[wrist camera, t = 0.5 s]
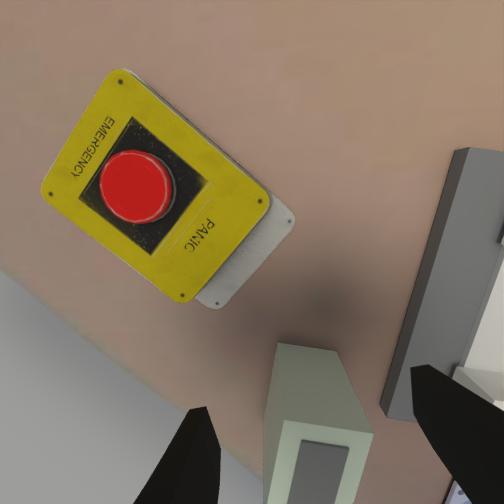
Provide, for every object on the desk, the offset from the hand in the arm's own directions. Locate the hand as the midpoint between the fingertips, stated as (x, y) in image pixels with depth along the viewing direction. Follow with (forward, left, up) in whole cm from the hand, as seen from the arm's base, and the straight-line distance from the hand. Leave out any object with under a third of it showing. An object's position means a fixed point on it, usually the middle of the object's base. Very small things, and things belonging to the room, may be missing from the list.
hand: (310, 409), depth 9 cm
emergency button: (+6, +9, -11) cm, 15 cm away
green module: (-7, -2, -10) cm, 13 cm away
